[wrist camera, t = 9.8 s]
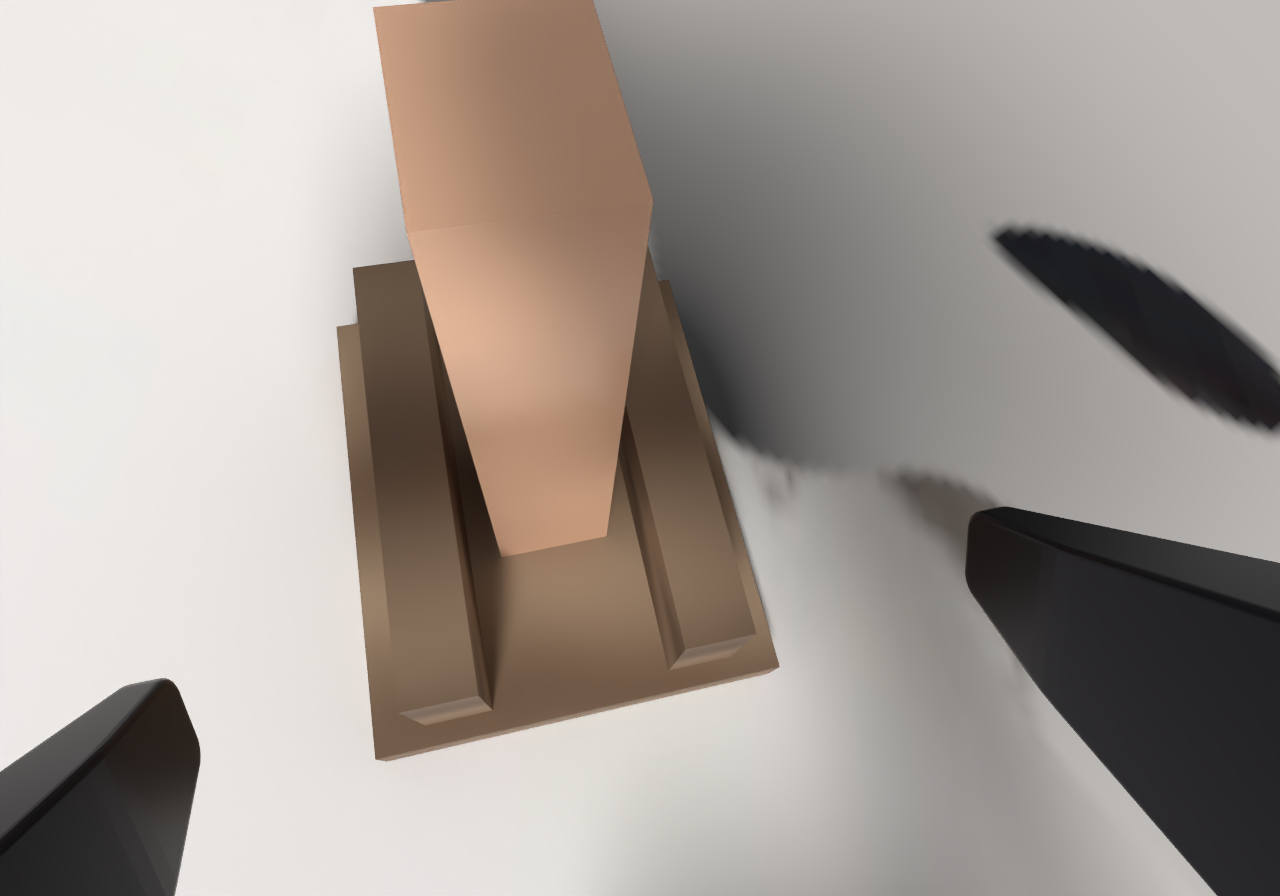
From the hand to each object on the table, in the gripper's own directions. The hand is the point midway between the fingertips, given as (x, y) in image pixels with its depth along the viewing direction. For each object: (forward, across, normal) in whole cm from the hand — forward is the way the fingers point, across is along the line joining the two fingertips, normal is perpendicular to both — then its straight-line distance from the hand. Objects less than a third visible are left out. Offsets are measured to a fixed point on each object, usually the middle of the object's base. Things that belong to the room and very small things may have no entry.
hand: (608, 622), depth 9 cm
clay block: (+12, 0, +4) cm, 13 cm away
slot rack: (+13, 0, +4) cm, 14 cm away
